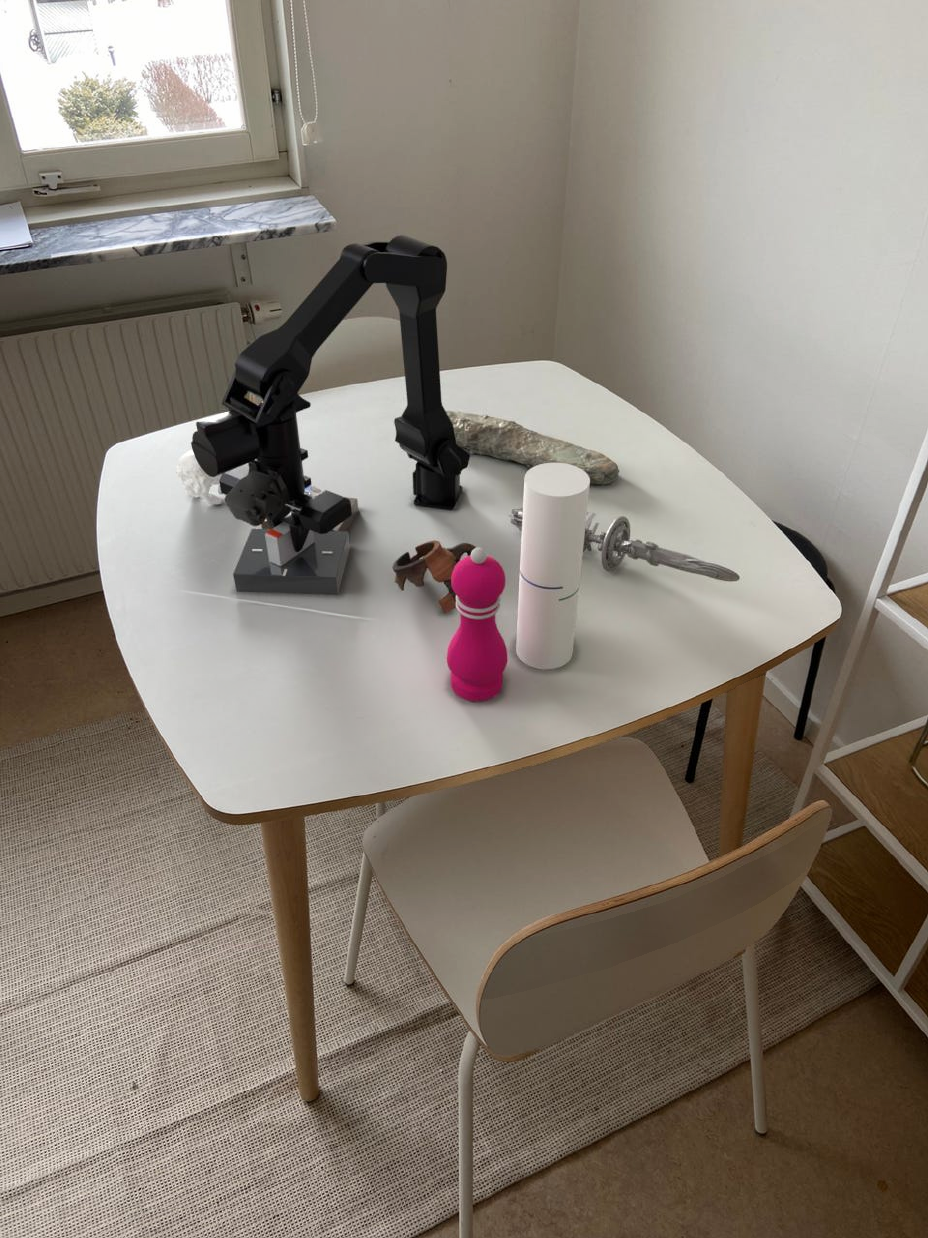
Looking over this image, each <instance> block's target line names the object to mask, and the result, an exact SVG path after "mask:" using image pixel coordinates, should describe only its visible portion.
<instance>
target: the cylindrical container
mask: <svg viewBox="0 0 928 1238" xmlns="http://www.w3.org/2000/svg"><path fill="white" fill-rule="evenodd" d="M523 479H524V480H523V499H522V500H523V501H522V507H523V519H522V531H521V541H520V544H521V545H520V558H519V559H520V560H519V561H520V562H519V563H520V564H519V580H518V581H519V583H518V586H519V587H518V600H517V601H518V604H517V620H516V621H517V623H516V624H517V625H516V644H515V650H516V652H515V653H516V655H517V657H518V658H519V660H520V661H521V662H522V663H523V664H525V665H526V666H529V667H531V668H534V669H538V670H555V669H559V668H561V667H563V666H565V665H566V664H568V663H569V662H570V660H571V659H572V657H573V654H574V653H573V652H574V642H575V633H576V622H577V612H578V603H579V593H580V583H581V573H582V563H583V555H584V552H583V545H584V535H585V525H586V521H587V516H588V515H587V511H588V506H589V505H588V504H589V496H590V495H589V493H590V486H591V485H590V484H591V483H590V478H589V476H588V474H587V473H586V472H585V471H583V470H582V469H580V468H578V467H576V466H573V465H570V464H565V463H544V464H540V465H537V466H535V467H533V468H529V469H528V470H527V471H526V473H525V475H524V477H523ZM586 515H587V516H586Z"/></svg>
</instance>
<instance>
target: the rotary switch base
mask: <svg viewBox="0 0 928 1238" xmlns="http://www.w3.org/2000/svg"><path fill="white" fill-rule="evenodd" d="M269 530H271V529H262V528H251V530H250V532H249V533H248V537H247V540H246V542H245V544H244V547H243V548H242V551H241V554H240V556H239V558H238V561H237V563H236V565H235V568H234V571H233V573H232V576H233V581H234V587H235V591H236V592H241V593H242V592H243V593H246V592H249V593H271V594H273V593H275V594H299V595H300V594H301V595H307V594H308V595H333V596H338V595H339V592H340V589H341V584H342V580H343V576H344V572H345V570H346V565H347V561H348V557H349V553H350V549H351V547H350V546H351V545H350V536H349V534H350V533H349V531H346V532H344V531H329V532H328V533H327V534H319V533H317V532H314V531H313V532H314V541H315V542H314V543H313V544H311V545H310V546H309V547H307V548H306V549H305V550H303V551H302V552H300V553H299V554H298V555H296V556H295V557H294V558H292V559H291V560H289V561H288V562H287V563H285V564H284V565H282V566H279V565H276V564H274V563H272V562H270V561H269V557H268V551H267V544H266V538H265V534H266V532H268V531H269Z"/></svg>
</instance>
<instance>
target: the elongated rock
mask: <svg viewBox="0 0 928 1238" xmlns="http://www.w3.org/2000/svg"><path fill="white" fill-rule="evenodd" d="M445 411H446V413H447V415H448V416H449V418H450V420H451V422H452V424H453V428H454V433H455V437H456V444H457V445H458V446H460V447H461V448H462V449H467V450H468V451H470V455H473V454H478V455H481V456H484V455H485V456H486V455H487V456H491V457H492V458H495V459H500V460H503V461H515V462H516V463H518V464H521V465H526V467H527V469H531V468H533V467H535V466H537V465H540V464H544V463H565V464H570V465H573V466H576V467H578V468H580V469H582V470H583V471H585V472H586V473H587V474H588V476H589V478H590V484H593V485H608V484H611V483H614V482H615V481H616V480H617V479H618V477H619V473H620V469H619V465H618V464H617V463H616V462H615V461H613V460H612V459H611V458H609V457H608V456H606V455H605V454H603V453H602V452H600V451H596V450H594V449H588V448H586V447H583V446H580V445H577V444H574V443H572V442H568V441H564V440H562V439H557V438H553V437H551V436H547V435H544V434H541V433H539V432H537V431H534V430H531V429H528V428H527V427H524V426H523V425H521V424H519V423H517V422H516V421H514V420H506V419H502V418H499V417H494V416H489V415H487V414H483V415H479V414H475V413H470V412H461V411H452V410H445Z"/></svg>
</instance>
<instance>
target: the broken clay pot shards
mask: <svg viewBox="0 0 928 1238" xmlns="http://www.w3.org/2000/svg"><path fill="white" fill-rule="evenodd" d="M475 548H477V547H476V546H475V545H474V544H472V543H468V542H462V543H459V544H456V545H455V546H453V547H448V548H446V547H443V546H442V544H441V542H440V540H430V541H427V542H423V543H421V544H419V545H417V546H415V547H414V549H415V552H416V554H414V555H413V556H412V557H411V555H410V552H409V551H406V552H405V553H403V554H402V555H401V556H399V557H398V558H397V559H396V560H395V561H394V562H393V564H392V567H391V568H392V570H393V572H394V573H395V576H394V582H395V583H396V584H397V585H398V588H399V589H400V590H401V591H402V592H403V591H404V590H405V584H406V581H408V582H409V583H412V584H413V585H414V586H415V587H424V586H425V583H424V582H425V581H424V578H425V574H426V572H427V569H428V571H429V573H430V574H431V577H432V579H433V580H434V581H435V582H436V583H443V584H444V586H445V587H446V588H447V590H448V593H446V594H445V595H444V596H443V597H441V598H439V599H438V600H437V604H438V605H439V607H440V609H441V611H442V613H443V614H448V613H449V612H451V611H453V610H455V609H457V608H456V594H455V593H454V591H453V588H452V584H451V577H452V572H453V570H454V568H455V566H456V564H457V563H458V562H459V561H460V560H462V557H463V556H464V554H467V556H470V555H471V552H472V550H474V549H475Z"/></svg>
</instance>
